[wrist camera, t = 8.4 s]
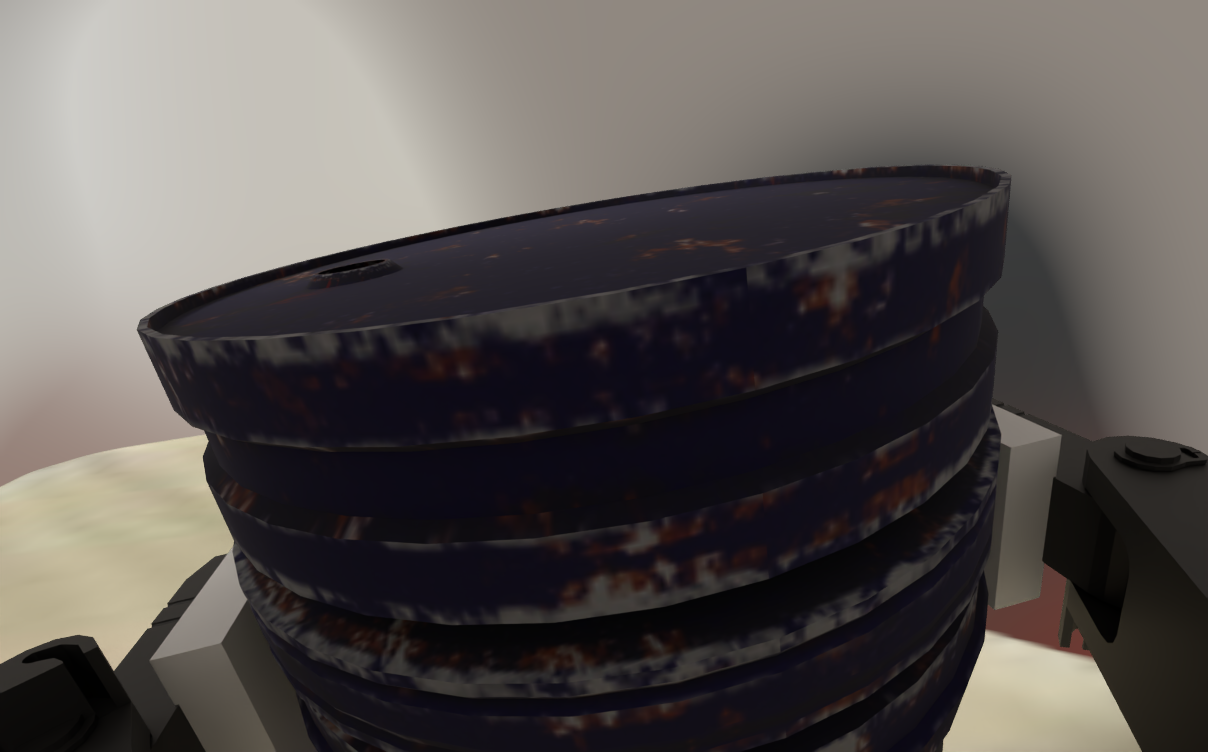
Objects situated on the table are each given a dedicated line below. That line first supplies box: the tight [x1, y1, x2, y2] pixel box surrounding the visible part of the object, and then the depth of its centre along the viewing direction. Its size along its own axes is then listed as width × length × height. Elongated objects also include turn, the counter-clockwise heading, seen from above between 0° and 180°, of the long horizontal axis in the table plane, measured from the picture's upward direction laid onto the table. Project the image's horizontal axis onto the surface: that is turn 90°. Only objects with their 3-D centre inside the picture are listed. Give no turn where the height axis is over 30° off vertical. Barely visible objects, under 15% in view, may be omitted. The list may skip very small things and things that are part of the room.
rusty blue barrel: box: [137, 164, 1011, 752], centre depth 10 cm, size 10×10×15 cm
